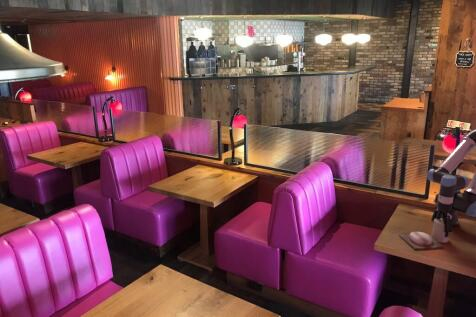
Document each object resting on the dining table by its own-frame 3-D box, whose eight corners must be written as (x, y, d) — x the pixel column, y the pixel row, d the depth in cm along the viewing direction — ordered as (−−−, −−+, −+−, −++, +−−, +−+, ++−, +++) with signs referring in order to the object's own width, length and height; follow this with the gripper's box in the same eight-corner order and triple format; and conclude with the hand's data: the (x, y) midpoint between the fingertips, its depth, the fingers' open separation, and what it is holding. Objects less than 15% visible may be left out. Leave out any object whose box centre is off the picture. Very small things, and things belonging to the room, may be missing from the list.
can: (450, 243, 228) (453, 224, 225) (433, 242, 230) (436, 223, 227) (445, 236, 237) (448, 217, 234) (429, 234, 239) (432, 216, 235)
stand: (425, 234, 239) (426, 229, 238) (442, 248, 223) (443, 242, 222) (399, 235, 237) (399, 230, 236) (414, 250, 221) (415, 244, 220)
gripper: (428, 195, 237) (423, 229, 243) (451, 210, 216) (444, 247, 223) (439, 194, 238) (434, 228, 244) (463, 209, 217) (457, 246, 223)
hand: (439, 237), depth 233 cm, fingers closed on can, 9 cm apart
